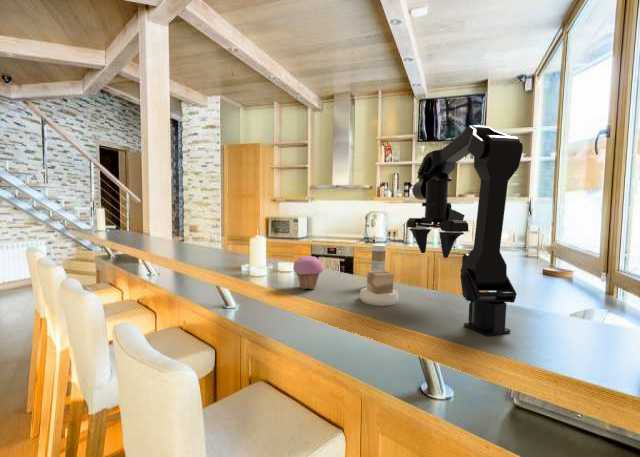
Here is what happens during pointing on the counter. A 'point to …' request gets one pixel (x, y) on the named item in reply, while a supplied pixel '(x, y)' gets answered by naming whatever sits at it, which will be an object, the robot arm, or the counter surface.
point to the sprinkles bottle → (378, 257)
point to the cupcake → (308, 271)
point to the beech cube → (379, 282)
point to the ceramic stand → (379, 298)
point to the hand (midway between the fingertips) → (433, 255)
